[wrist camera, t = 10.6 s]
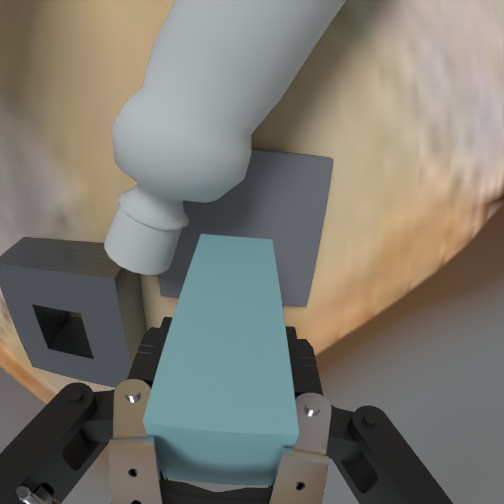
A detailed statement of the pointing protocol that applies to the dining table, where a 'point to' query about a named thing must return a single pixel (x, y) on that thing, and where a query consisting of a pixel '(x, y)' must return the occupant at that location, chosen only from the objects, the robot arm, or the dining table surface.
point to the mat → (264, 219)
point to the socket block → (73, 308)
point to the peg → (225, 369)
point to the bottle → (202, 113)
